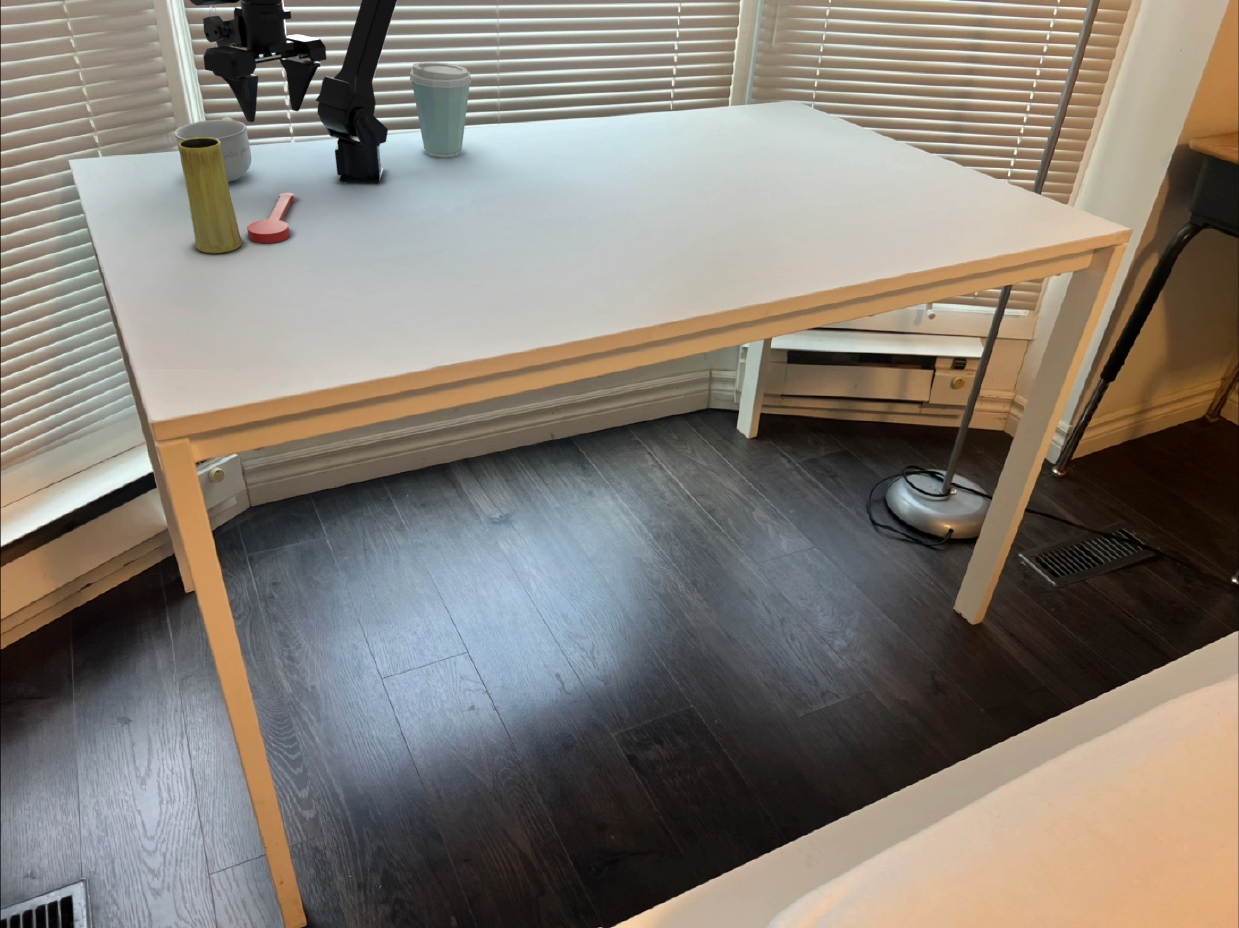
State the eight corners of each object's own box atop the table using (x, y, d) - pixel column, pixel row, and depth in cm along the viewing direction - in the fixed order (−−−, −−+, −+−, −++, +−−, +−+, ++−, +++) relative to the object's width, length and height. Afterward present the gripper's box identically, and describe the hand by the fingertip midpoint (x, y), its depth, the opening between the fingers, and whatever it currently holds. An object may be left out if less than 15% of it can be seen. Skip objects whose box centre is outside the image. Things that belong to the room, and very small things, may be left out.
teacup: (232, 191, 150) (223, 140, 146) (170, 183, 152) (158, 132, 147) (276, 165, 162) (268, 116, 157) (217, 158, 163) (208, 109, 158)
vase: (251, 243, 134) (233, 140, 126) (219, 257, 130) (199, 152, 122) (218, 234, 136) (198, 132, 128) (185, 248, 132) (163, 143, 124)
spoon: (306, 198, 150) (305, 189, 149) (286, 243, 135) (284, 234, 134) (270, 198, 149) (268, 189, 148) (244, 243, 134) (243, 233, 134)
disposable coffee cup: (443, 139, 178) (439, 54, 169) (486, 152, 173) (484, 65, 165) (401, 152, 171) (395, 63, 162) (445, 166, 166) (440, 75, 157)
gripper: (266, -13, 143) (277, 95, 152) (165, -3, 129) (183, 116, 137) (324, -1, 140) (332, 109, 148) (227, 11, 125) (242, 132, 134)
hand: (273, 115), depth 142 cm, fingers open, 9 cm apart
